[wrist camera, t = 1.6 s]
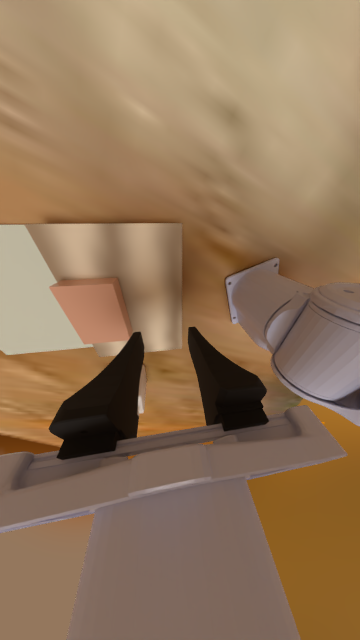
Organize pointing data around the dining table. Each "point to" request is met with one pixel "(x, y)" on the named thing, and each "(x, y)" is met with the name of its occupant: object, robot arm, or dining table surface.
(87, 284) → the block
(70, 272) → the block
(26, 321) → the mat
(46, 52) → the dining table surface
